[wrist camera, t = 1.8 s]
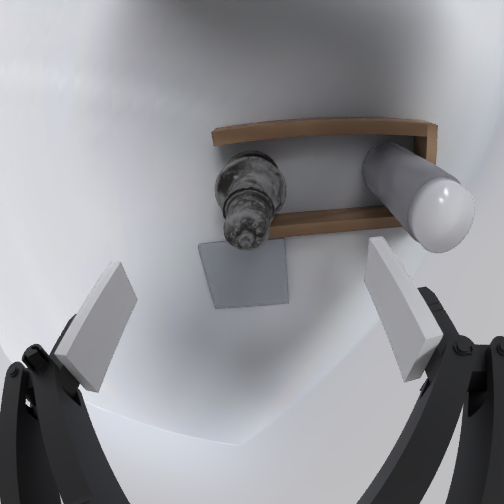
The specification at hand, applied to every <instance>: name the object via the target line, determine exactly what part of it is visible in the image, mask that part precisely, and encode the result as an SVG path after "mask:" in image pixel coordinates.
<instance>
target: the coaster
mask: <svg viewBox="0 0 504 504" xmlns="http://www.w3.org/2000/svg"><path fill="white" fill-rule="evenodd" d="M198 249H199V253H200V257H201V260H202V264H203V267H204V271H205V275H206V278H207V282H208V285H209V289H210V292H211V296H212V299H213V302H214V306H215V309H217V308H233V307H248V306H262V305H274V304H285V303H289V298H288V282H287V268H286V254H285V241H284V237H279V238H268V240H267V241H266V243H265V244H264V245H263V246H262V247H260V248H258V249H256V250H252V251H243V250H239V249H236V248H234V247H233V246H231V245H230V244H229V243H228V241H224V242H214V243H204V244H199V245H198Z"/></svg>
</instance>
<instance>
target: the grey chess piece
mask: <svg viewBox="0 0 504 504" xmlns="http://www.w3.org/2000/svg"><path fill="white" fill-rule="evenodd" d="M215 197H216V199H217V202H218V205H219V206H220V207H221V209H222V210H223V216H224V218H225V224H224V235H225V238H226V240H227V241H228V243H229V244H230V245H231V246H233V247H234V248H236V249H239V250H243V251H252V250H256V249H258V248H260V247H262V246H263V245H264V244H265V243H266V241H267V240H268V238H269V235H270V223H271V221H272V220H273V217H274V215H275V214H276V213H277V212H278V211H279V210H280V208H281V207H282V205H283V203H284V200H285V197H286V184H285V181H284V177H283V176H282V174H281V172H280V171H279V169H278V167H277V165H276V164H275V162H274V161H273V160H272V159H271V158H270V157H269V156H267V155H265V154H263V153H261V152H257V151H246V152H242V153H239V154H238V155H236V156H234V157H233V158H232V159H231V160H230V161H229V162H228V164H227V165H226V166H225V167H224V168H223V169H222V170H221V172H220V173H219V175H218V177H217V179H216V184H215Z"/></svg>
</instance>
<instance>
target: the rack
mask: <svg viewBox="0 0 504 504" xmlns="http://www.w3.org/2000/svg"><path fill="white" fill-rule="evenodd" d="M437 129H438V125H435V124H432V123H429V122H426V121H421V120H409V119H394V118H370V117H331V118H306V119H290V120H278V121H267V122H258V123H249V124H241V125H234V126H227V127H220V128H216V129H215V130H214V131H212V132H211V133H212V138H213V144H214V146H219V145H226V144H233V143H240V142H248V141H257V140H266V139H276V138H288V137H301V136H319V135H351V134H376V135H407V136H414V153H415V154H417V155H418V156H420V157H422V158H424V159H425V160H427V161H429V162H431V163H432V164H434V165H436V151H437ZM393 227H403V226H402V225H401V223H400V222H399V221H398V220H397V219H396V218H395V216H394V215H393V214H392V213H391V212H390V211H389V209H388V208H387V207H386V206H375V207H360V208H345V209H332V210H319V211H307V212H296V213H285V214H275V215H274V217H273V220H272V221H271V223H270V235H269V238H279V237H290V236H300V235H311V234H323V233H334V232H345V231H357V230H369V229H381V228H393Z"/></svg>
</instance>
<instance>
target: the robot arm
mask: <svg viewBox="0 0 504 504" xmlns="http://www.w3.org/2000/svg"><path fill="white" fill-rule="evenodd" d="M364 282H365V284H366V286H367V289H368V291H369V293H370V295H371V298H372V300H373V302H374V305H375V307H376V309H377V312H378V314H379V317H380V319H381V321H382V324H383V326H384V329H385V331H386V334H387V337H388V339H389V342H390V344H391V347H392V350H393V352H394V355H395V358H396V361H397V363H398V366H399V369H400V371H401V375H402V378H403V381H404V382H407V381H411V380H415V379H418V378H420V377H421V376H422V374H423V372H424V370H425V371H426V374H427V377H428V378H427V379H426V381H425V383H424V384H423V386H422V388H421V389H420V391H421V393H420V396H419V398H418V400H417V402H416V405H415V407H414V409H413V411H412V413H411V415H410V417H409V419H408V421H407V423H406V426H405V427H404V429H403V431H402V433H401V435H400V437H399V439H398V440H397V442H396V444H395V446H394V448H393V449H392V451H391V453H390V455H389V456H388V458H387V460H386V461H385V463H384V465H383V466H382V468H381V469H380V471H379V473H378V474H377V475H376V477H375V478H374V480H373V481H372V483H371V484H370V486H369V487H368V489H367V490H366V491H365V493H364V494H363V496H362V497H361V498H360V500H359V501H358V502H357V504H419V503H420V501H421V500H422V498H423V496H424V495H425V493H426V491H427V489H428V488H429V486H430V484H431V482H432V480H433V478H434V476H435V474H436V472H437V470H438V468H439V466H440V464H441V461H442V459H443V457H444V455H445V452H446V450H447V448H448V445H449V443H450V440H451V438H452V435H453V432H454V430H455V427H456V424H457V422H458V419H459V416H460V413H461V409H462V406H463V416H462V426H461V434H460V441H459V447H458V453H457V459H456V464H455V469H454V474H453V477H452V482H451V486H450V490H449V493H448V497H447V500H446V504H504V337H503V336H497V337H495V338H494V339H493V340H492V342H491V344H490V345H475V344H474V343H473V342H472V341H471V340H470V339H469V338H467V337H465V336H462V335H459V334H458V332H457V330H456V328H455V327H454V325H453V323H452V321H451V320H450V318H449V316H448V315H447V313H446V311H445V310H444V308H443V307H442V305H441V303H440V301H439V300H438V298H437V297H436V295H435V294H434V293H433V292H432V291H431V290H430V289H428V288H427V287H421V288H417V287H416V286H415V284H414V282H413V281H412V279H411V278H410V276H409V274H408V273H407V271H406V270H405V268H404V267H403V265H402V264H401V262H400V261H399V259H398V258H397V256H396V255H395V253H394V252H393V250H392V249H391V247H390V246H389V244H388V243H387V242H386V240H385V239H384V237H383V236H380V237H369V244H368V254H367V262H366V271H365V278H364ZM137 300H138V299H137V297H136V295H135V293H134V291H133V288H132V286H131V284H130V282H129V280H128V277H127V275H126V273H125V270H124V268H123V266H122V263H121V262H114V263H110V264H109V265H108V267H107V268H106V269H105V271H104V272H103V274H102V275H101V277H100V278H99V280H98V281H97V283H96V284H95V286H94V287H93V289H92V290H91V292H90V294H89V295H88V297H87V298H86V300H85V301H84V303H83V305H82V306H81V308H80V310H79V311H78V313H77V314H75V315H74V316H73V317H72V318H71V319H70V320H69V321H68V323H67V325H66V326H65V329H64V330H63V331H62V333H61V336H60V337H59V338H58V340H57V342H56V344H55V345H54V347H53V349H52V351H51V353H50V355H48V354H47V353H46V352H45V350H44V349H43V348H42V347H41V346H40V345H39V344H34V345H31V346H30V347H28V348H27V349H26V351H25V352H24V354H23V356H22V361H23V362H24V363H25V365H26V366H27V367H28V368H25V367H24V366H23V364H22V363H20V362H15V363H13V364H11V365H10V366H9V369H8V370H7V373H6V377H5V383H4V389H3V395H2V403H1V412H0V500H1V504H61V499H60V495H61V498H62V501H63V503H64V504H130V503H129V501H128V499H127V498H126V496H125V494H124V493H123V491H122V489H121V487H120V485H119V483H118V481H117V479H116V477H115V476H114V473H113V471H112V469H111V467H110V465H109V463H108V461H107V459H106V457H105V455H104V452H103V450H102V448H101V445H100V443H99V441H98V438H97V436H96V433H95V431H94V428H93V426H92V423H91V420H90V417H89V414H88V412H87V409H86V406H85V403H84V400H83V396H82V393H81V392H80V390H79V389H78V387H79V384H81V385H82V386H83V387H84V388H85V389H86V390H87V391H92V392H99V390H100V387H101V384H102V382H103V379H104V377H105V374H106V371H107V369H108V366H109V364H110V361H111V359H112V357H113V354H114V352H115V349H116V347H117V345H118V342H119V340H120V338H121V335H122V333H123V331H124V328H125V326H126V324H127V322H128V319H129V317H130V315H131V313H132V311H133V309H134V306H135V304H136V302H137ZM26 399H27V400H28V401H29V402H30V407H29V406H27V405H26V404H25V402H26ZM463 403H464V404H463ZM59 493H60V494H59Z"/></svg>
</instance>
